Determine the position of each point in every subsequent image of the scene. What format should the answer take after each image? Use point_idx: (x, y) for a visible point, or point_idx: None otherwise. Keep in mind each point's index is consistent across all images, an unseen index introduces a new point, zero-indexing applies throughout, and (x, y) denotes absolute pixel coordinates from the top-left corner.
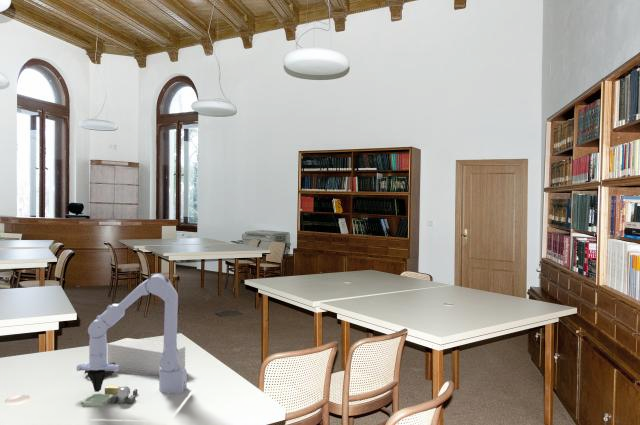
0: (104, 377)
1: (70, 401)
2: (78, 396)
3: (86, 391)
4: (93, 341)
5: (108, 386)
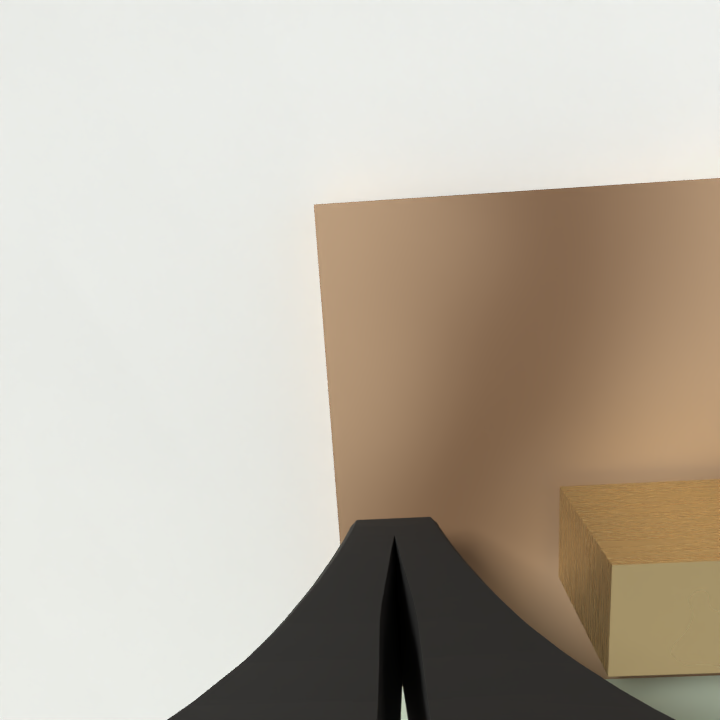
0: (577, 665)
1: (51, 672)
2: (33, 484)
3: (10, 248)
4: None
5: (660, 588)
